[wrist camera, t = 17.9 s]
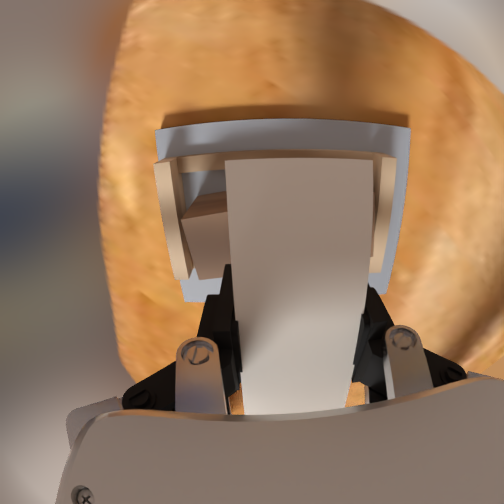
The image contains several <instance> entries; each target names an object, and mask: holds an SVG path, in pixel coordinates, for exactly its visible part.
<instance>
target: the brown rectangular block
mask: <svg viewBox="0 0 504 504" xmlns="http://www.w3.org/2000/svg"><path fill="white" fill-rule="evenodd" d="M181 222H182V226H183V229H184V233H185V236H186V240H187V243H188V246H189V250H190V253H191V256H192V259H193V263H194V266H195V269H196V272H197V275H198V278H199V280H206V279H214V278H222V277H223V272H224V267H225V264H231V255H230V240H229V225H228V209H227V192H226V191H222V192H216V193H211V194H205V195H200V196H197V197H196V199H195V200H194V202H193V203H192V204H191V206H190V207H189V209H188V210H187V212H186V213H185V214H184V216H183V217H182V219H181ZM374 227H375V193H374V192H373V220H372V240H371V254H370V257H373V252H374Z"/></svg>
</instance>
